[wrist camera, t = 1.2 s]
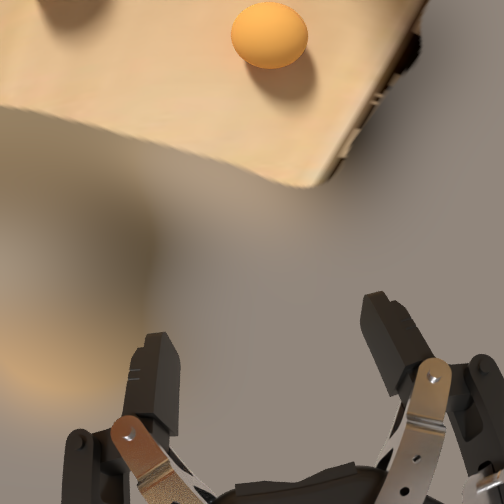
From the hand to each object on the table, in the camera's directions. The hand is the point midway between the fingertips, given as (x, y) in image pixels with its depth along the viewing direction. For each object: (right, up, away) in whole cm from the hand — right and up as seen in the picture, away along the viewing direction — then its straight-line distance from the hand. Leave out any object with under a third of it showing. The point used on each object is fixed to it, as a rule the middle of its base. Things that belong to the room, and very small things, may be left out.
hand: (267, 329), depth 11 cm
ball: (+1, +19, +6) cm, 20 cm away
